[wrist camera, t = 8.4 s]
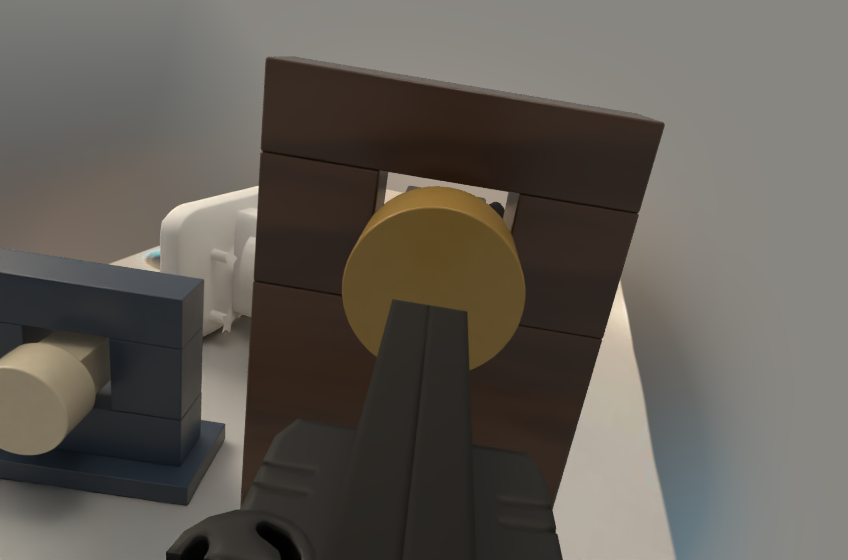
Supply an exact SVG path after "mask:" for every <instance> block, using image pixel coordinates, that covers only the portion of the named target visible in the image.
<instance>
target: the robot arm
mask: <svg viewBox="0 0 848 560" xmlns="http://www.w3.org/2000/svg"><path fill="white" fill-rule="evenodd" d="M166 560H563V559H562V554H561V549H560V544H559V540H558V535H557V534H556V525H555V520H554V516H553V511H552V510H551V501H550V496H549V491H548V487H547V482H546V478H545V476H544V475H543V474H542V472H541V471H540V469H539V468H538V467H537V465H536V464H535V463H534V461H533V460H532V459H531V457H530V456H529V454H528V453H524V452H517V451H511V450H505V449H499V448H493V447H487V446H480V445H474V444H472V424H471V397H470V369H469V342H468V315H467V311H462V310H456V309H450V308H444V307H437V306H431V305H425V304H419V303H413V302H407V301H401V300H395V299H392V303H391V306H390V310H389V314H388V318H387V321H386V325H385V329H384V333H383V336H382V340H381V344H380V347H379V351H378V355H377V359H376V362H375V366H374V370H373V374H372V377H371V381H370V385H369V388H368V392H367V396H366V400H365V403H364V407H363V411H362V415H361V418H360V422H359V426H358V428H355V427H349V426H343V425H337V424H331V423H325V422H319V421H312V420H306V419H300V418H298V419H297V420H295V421H294V422H293V423H291V424H290V425H289V426H288V427H286V428H285V429H284V430H282V431H281V432H280V433H279V434H277V435H276V436H275V437H274V439H273V441H272V444H271V446H270V448H269V450H268V452H267V454H266V456H265V458H264V460H263V465H262V466H260V469H259V471H258V473H257V475H256V477H255V479H254V481H253V485H252V487H250V489H249V491H248V494H247V496H246V498H245V500H244V502H243V504H242V506H241V508H240V510H234V511H230V512H226V513H222V514H218V515H215V516H211V517H208V518H206V519H205V520H203V521H201V522H199V523H198V524H196V525H194V526H193V527H191V528H189V529H188V530H186V531H184V532H183V533H182V535H181V536H180V537H179V538H178V539H177V540H176V541H175V543H174V544H173V545H172V546H171V547H170V548H169V550H168V551H167V552H166Z"/></svg>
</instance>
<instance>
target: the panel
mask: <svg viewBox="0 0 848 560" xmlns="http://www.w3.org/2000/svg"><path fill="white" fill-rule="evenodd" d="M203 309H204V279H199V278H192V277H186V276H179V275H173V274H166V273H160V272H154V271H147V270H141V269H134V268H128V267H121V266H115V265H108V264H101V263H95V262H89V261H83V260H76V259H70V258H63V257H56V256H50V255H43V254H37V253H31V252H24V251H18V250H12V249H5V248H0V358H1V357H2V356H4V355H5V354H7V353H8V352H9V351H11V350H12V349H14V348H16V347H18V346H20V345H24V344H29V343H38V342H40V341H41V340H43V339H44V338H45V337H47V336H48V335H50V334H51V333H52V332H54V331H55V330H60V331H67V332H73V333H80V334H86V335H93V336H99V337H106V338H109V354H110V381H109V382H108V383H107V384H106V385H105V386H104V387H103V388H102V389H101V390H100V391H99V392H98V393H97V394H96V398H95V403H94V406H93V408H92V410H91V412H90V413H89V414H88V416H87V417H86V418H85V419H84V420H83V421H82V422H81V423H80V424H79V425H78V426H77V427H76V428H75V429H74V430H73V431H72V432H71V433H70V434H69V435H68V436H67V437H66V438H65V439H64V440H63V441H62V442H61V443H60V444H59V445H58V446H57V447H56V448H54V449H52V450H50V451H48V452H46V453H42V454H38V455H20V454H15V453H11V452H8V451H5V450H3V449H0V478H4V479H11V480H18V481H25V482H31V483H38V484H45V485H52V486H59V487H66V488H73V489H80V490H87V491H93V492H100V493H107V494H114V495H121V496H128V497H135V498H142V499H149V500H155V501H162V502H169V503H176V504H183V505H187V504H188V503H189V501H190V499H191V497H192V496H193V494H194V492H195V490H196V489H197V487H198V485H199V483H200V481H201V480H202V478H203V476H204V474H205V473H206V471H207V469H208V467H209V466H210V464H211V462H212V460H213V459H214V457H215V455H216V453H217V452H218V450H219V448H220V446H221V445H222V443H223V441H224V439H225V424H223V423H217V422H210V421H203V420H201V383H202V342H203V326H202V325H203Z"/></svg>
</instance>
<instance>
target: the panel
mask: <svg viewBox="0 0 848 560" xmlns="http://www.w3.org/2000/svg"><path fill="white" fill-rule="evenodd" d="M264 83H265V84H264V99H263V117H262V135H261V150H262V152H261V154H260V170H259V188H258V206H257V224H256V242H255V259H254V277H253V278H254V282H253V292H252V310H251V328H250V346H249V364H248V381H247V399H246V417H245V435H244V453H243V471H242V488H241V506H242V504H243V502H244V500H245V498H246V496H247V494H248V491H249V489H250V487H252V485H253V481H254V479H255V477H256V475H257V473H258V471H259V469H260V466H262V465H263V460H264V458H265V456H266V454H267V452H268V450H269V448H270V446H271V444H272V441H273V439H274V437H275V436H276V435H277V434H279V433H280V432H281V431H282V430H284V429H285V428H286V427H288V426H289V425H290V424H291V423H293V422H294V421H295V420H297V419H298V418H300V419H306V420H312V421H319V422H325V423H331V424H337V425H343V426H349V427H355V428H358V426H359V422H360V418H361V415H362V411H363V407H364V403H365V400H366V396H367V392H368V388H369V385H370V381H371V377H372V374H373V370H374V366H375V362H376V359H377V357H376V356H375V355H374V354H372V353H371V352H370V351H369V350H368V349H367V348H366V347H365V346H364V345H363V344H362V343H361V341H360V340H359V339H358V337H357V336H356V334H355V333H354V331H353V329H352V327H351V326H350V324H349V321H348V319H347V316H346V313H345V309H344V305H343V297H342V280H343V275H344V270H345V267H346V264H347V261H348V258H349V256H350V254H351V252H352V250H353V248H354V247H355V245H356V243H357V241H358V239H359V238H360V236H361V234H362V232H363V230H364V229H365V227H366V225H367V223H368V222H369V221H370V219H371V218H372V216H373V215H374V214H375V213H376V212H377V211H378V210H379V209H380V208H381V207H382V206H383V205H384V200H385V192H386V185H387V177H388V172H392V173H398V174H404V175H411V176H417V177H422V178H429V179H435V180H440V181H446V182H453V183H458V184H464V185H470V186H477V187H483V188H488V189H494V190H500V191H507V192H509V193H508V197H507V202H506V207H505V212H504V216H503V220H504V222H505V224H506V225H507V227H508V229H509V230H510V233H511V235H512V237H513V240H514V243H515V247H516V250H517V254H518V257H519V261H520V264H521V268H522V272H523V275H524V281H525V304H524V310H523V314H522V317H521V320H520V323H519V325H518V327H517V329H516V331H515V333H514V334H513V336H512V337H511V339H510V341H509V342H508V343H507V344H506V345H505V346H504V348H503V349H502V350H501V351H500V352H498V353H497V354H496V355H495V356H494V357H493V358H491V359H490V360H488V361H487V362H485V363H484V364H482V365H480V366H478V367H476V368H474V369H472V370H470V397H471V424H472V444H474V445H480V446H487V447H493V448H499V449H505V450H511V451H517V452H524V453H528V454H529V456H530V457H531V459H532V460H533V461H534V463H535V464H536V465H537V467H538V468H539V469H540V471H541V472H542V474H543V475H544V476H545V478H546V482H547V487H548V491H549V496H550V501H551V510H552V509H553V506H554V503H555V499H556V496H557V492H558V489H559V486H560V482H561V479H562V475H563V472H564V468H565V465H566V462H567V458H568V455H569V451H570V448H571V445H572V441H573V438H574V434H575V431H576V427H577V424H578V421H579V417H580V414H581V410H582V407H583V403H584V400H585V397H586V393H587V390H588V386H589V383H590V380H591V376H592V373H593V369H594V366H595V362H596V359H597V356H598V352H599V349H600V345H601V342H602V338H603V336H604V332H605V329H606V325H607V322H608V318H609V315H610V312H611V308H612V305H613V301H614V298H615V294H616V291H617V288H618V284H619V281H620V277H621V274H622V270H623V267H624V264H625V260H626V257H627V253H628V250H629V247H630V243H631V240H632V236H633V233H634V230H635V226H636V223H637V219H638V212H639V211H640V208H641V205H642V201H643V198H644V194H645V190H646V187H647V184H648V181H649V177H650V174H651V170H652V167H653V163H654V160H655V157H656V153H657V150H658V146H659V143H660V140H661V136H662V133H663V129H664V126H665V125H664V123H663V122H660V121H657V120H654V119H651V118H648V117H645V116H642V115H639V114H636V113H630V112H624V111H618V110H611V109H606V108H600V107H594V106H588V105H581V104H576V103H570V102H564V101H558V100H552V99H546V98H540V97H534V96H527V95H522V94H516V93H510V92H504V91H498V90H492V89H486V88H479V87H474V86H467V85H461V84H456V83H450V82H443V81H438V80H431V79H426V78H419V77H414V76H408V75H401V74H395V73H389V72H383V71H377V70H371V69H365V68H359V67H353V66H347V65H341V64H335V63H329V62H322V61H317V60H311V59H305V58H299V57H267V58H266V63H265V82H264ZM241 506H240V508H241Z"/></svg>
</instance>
